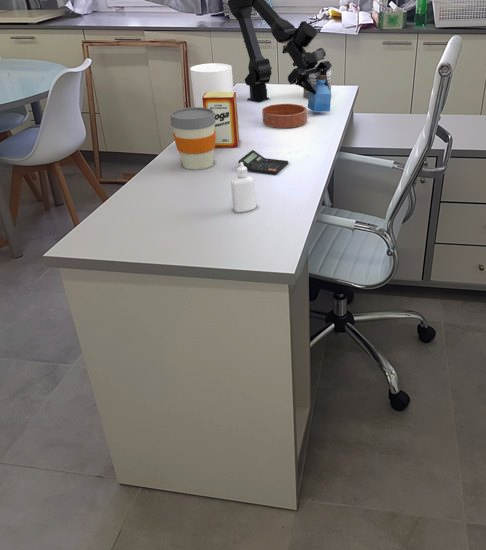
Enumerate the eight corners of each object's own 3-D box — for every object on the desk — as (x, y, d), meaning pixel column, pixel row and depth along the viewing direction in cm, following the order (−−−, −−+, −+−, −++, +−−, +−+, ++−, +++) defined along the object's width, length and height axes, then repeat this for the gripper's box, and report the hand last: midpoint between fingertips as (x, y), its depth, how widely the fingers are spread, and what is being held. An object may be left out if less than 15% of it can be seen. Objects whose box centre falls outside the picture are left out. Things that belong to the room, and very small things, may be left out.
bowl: (253, 123, 202) (253, 110, 199) (283, 113, 212) (282, 101, 209) (287, 131, 193) (286, 118, 191) (315, 120, 203) (315, 108, 201)
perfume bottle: (329, 111, 209) (332, 77, 203) (314, 111, 207) (316, 77, 201) (322, 107, 214) (325, 74, 208) (307, 107, 212) (309, 74, 206)
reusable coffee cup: (226, 158, 171) (222, 108, 163) (207, 173, 161) (201, 121, 153) (189, 154, 175) (183, 105, 167) (168, 169, 165) (161, 117, 157)
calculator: (275, 174, 160) (275, 164, 158) (238, 170, 163) (237, 160, 161) (288, 163, 167) (287, 153, 165) (252, 159, 170) (251, 149, 169)
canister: (189, 131, 195) (182, 70, 185) (209, 120, 206) (203, 62, 195) (224, 135, 191) (218, 73, 180) (242, 123, 201) (238, 64, 191)
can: (301, 93, 237) (301, 63, 230) (329, 92, 238) (329, 62, 231) (305, 100, 227) (304, 69, 221) (333, 99, 228) (333, 68, 222)
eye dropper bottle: (234, 205, 142) (230, 159, 136) (256, 205, 142) (253, 159, 136) (232, 212, 139) (228, 166, 132) (255, 212, 139) (252, 165, 132)
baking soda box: (239, 140, 186) (235, 90, 177) (237, 147, 180) (233, 95, 172) (210, 141, 186) (205, 91, 177) (207, 147, 180) (202, 96, 172)
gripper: (293, 44, 194) (317, 82, 193) (328, 37, 206) (351, 73, 205) (277, 65, 203) (300, 102, 202) (311, 57, 214) (333, 92, 214)
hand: (322, 91), depth 206 cm, fingers closed on perfume bottle, 7 cm apart
